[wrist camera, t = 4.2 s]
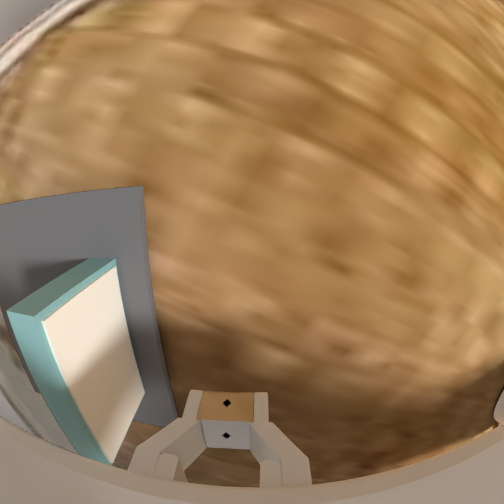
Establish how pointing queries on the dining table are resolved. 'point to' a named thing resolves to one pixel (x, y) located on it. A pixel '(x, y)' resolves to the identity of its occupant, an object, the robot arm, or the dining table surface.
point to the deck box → (82, 356)
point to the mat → (77, 251)
